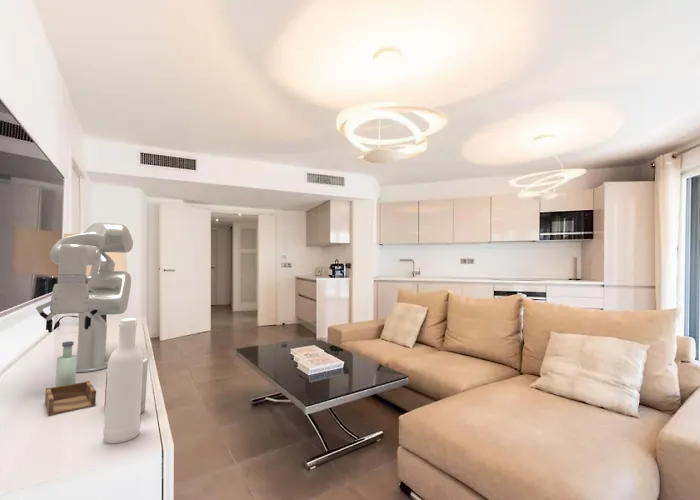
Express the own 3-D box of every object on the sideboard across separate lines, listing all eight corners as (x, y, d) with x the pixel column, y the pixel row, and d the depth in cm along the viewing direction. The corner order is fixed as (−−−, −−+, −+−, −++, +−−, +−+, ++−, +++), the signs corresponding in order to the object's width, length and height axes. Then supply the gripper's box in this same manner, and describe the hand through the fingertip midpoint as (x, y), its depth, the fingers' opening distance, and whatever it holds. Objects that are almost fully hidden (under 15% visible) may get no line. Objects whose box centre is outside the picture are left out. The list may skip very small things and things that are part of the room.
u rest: (44, 403, 108) (45, 388, 108) (88, 394, 115) (89, 381, 116) (48, 416, 99) (49, 399, 99) (95, 405, 107) (96, 390, 107)
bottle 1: (53, 392, 116) (57, 342, 117) (73, 389, 120) (76, 340, 121) (55, 397, 113) (58, 344, 114) (75, 393, 116) (78, 342, 117)
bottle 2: (121, 445, 84) (128, 322, 86) (94, 441, 86) (102, 320, 87) (146, 430, 92) (152, 317, 93) (122, 427, 94) (128, 316, 95)
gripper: (100, 279, 127) (97, 326, 126) (37, 279, 115) (33, 331, 114) (104, 280, 122) (101, 329, 121) (39, 280, 109) (35, 335, 108)
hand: (68, 330), depth 117 cm, fingers open, 9 cm apart
